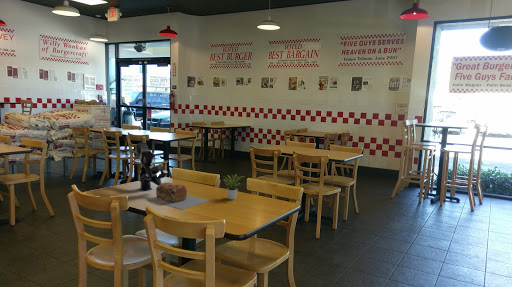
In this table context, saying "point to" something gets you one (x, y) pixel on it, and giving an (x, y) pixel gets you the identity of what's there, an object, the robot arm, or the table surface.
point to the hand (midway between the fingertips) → (160, 186)
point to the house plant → (232, 187)
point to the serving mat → (185, 202)
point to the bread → (171, 192)
